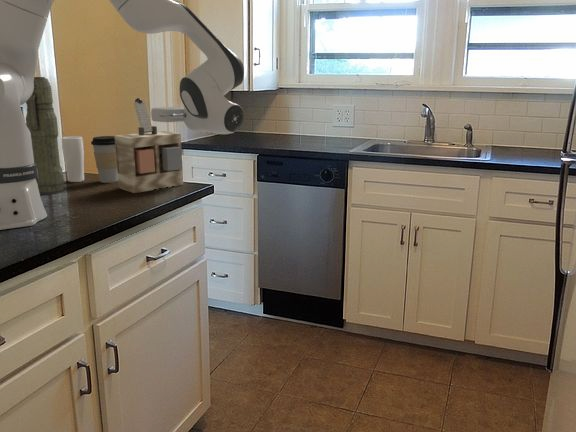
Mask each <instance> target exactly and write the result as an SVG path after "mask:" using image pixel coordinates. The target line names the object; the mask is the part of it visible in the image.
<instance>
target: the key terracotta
mask: <svg viewBox="0 0 576 432" xmlns="http://www.w3.org/2000/svg"><path fill="white" fill-rule="evenodd" d="M134 151H135V156H134V159H135V165H136V172H137V173H140V174H142V173H149V172H155V162H154V149H140V150H134Z"/></svg>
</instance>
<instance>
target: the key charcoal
mask: <svg viewBox="0 0 576 432" xmlns="http://www.w3.org/2000/svg"><path fill="white" fill-rule="evenodd" d="M181 149H182V146H181V147H167V148H162V154H160V160H162V161H163V170H166V171H172V170H179V169H183V166H182V167H181Z"/></svg>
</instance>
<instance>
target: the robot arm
mask: <svg viewBox="0 0 576 432" xmlns="http://www.w3.org/2000/svg"><path fill="white" fill-rule="evenodd" d="M54 1H55V0H0V231H1V230H7V229H16V228H23V227H31V226H35V225H36V224H37V223H38V222H40V221H42V220H44V219H45V218H47V217H48V213H47V211H46V209H45V207H44V202H43V201H42V200H43V199H42V197H41V194H40V193H39V189H38V171H37V167H36V163H34V157H33V149H32V140H31V133H30V131H29V129H28V128H27V125H26V119H25V117H24V114H23V111H22V108H21V106H22V105H24V104H26V101H27V100H28V99H29V98H30V97H31V95H32V93H33V90H34V77H36V69H37V60H38V54H39V49H40V45H41V41H42V39H43V34H44V32H45V28H46V25H47V23H48V19H49V15H50V12H51V9H52V6H53V3H54ZM108 1H109V2H110V3H111V4H112V6H113V7H114V8H115V10H116V12H117V13H118V14H119V15H120V17H121V18H122V20H124V22H126V24H127V25H128V26H129V27H130V28H131V29H133V30H134V31H136V32H138V33H142V34H146V35H147V34H149V35H150V34H159V33H160V34H161V33H166V32H177V33H182V34H183V35H185V36H186V37H187V38H188V39H189V40H190V41H191V42H192V43H193V44H194V45H195V46H196V47H197V48H198V49H199V50H200V51H201V52H202V53H203V54H204V55H205V56H206V58H207V60H205V61H204V62H203V63H201V64H200V65H199V66H197V67H195V68H194V69H193V70H191V71H190V72H188V73H187V74H185V75H184V76H183V78H181V80H180V81H179V96H180V101H181V102H182V104H183V106H163V107H162V106H161V107H152V108H151V110H150V115H151V116H150V117H151V118H150V119H151V120H152V122H157V123H158V122H159V123H183V122H184V124H185V125H186V126H185V127H187V128H188V129H189V130H191V131H196V132H203V133H207V132H208V133H211V134H215V135H216V134H218V135H229V134H233V133H235V132H237V131H238V130H239V129H240V128H241V126H242V125H243V123H244V120H245V113H244V109H243V107H242V106H241V105H239V104H238V103H235V102H232V101H230V100H229V99H228V98H226V97H225V95H227V94H228V93H229V92H230V91H232V90H234V89H237V87H239V86H241V84H243V81H244V77H245V67H244V63H243V62H242V60H241V58H240V57H239V56H238V55H237V54H236V53H235V52H234V51H232V50H231V49H229V48H228V47H227V46H225V45H224V43H222V42H221V40H220V39H219V38H218V37H217V36H216V35H215V34H214V33H213V32H212V31H211V30H210V29H209V28H208V27H207V25H205V23H203V21H202V20H201V19H200V18H199V17H198V16H197V15H196V14H195V13H194V12H193V11H192V10H191V9H190V7H188V6H187V5H185V4H184V3H183V2H182V1H179V0H108Z"/></svg>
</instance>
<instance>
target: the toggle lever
mask: <svg viewBox="0 0 576 432" xmlns="http://www.w3.org/2000/svg"><path fill="white" fill-rule="evenodd" d="M145 103H146V102H145V101H144V100H142V98H140V97H137V98H135V100H134V103H133V105H134V108H135V109H134V110H135V112H136V116H137V119H138V123H139V125H140V127H143V128H144V133H151V132H152V131H153V130H152V126H153V125H152V124H151V121H150V119H151V118H150V117H149V113H148V110H147V106H146V104H145Z"/></svg>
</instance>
